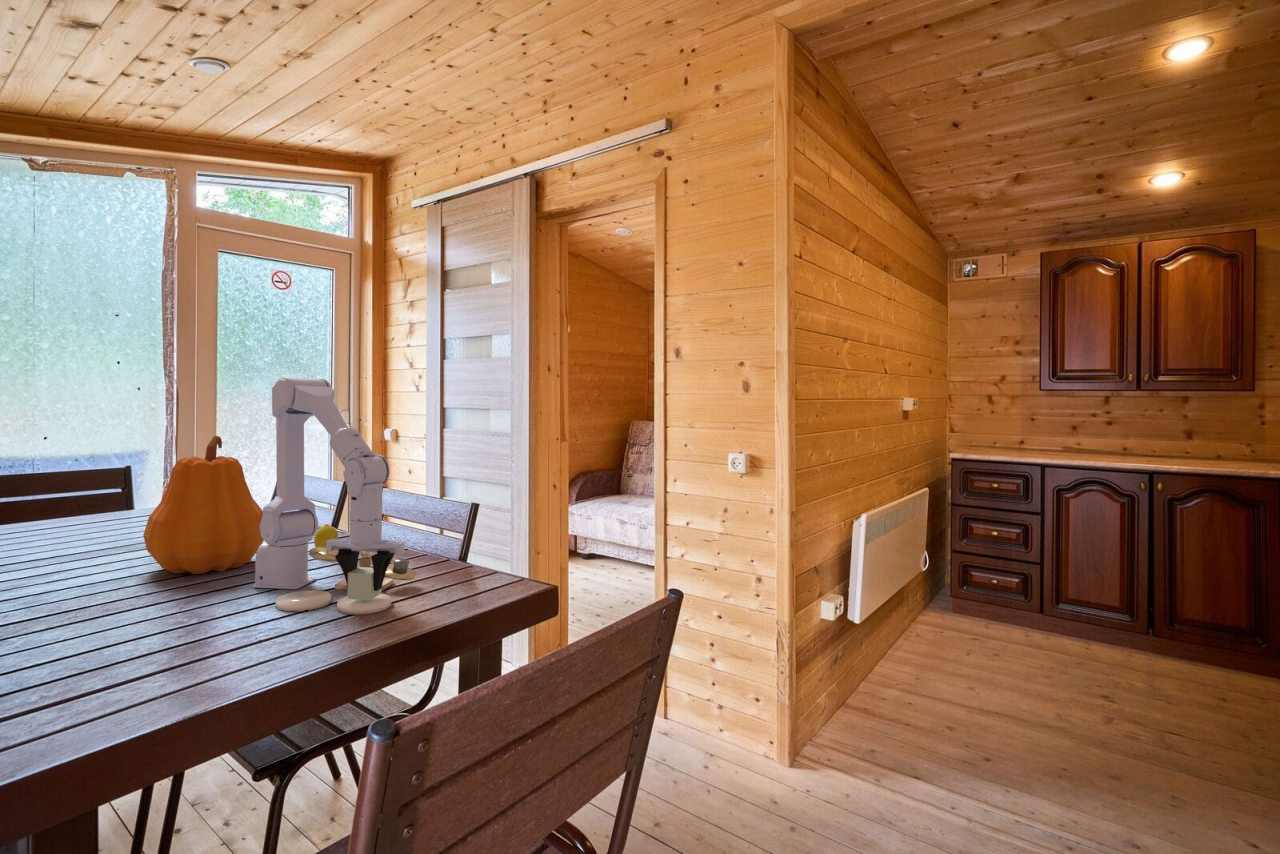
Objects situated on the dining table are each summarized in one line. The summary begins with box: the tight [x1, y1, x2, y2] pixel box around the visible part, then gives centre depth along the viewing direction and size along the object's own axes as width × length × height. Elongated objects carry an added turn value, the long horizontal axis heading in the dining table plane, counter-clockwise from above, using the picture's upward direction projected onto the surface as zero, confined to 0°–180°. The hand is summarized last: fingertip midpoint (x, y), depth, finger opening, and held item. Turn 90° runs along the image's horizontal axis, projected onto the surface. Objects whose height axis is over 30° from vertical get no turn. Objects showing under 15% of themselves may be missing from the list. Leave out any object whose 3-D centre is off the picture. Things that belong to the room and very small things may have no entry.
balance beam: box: [308, 547, 417, 581], centre depth 141 cm, size 23×7×3 cm, turn 88°
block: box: [347, 566, 382, 600], centre depth 128 cm, size 4×4×5 cm
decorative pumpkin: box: [143, 435, 265, 575], centre depth 151 cm, size 24×24×30 cm
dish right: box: [336, 593, 392, 616], centre depth 128 cm, size 10×10×1 cm
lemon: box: [313, 523, 340, 548], centre depth 166 cm, size 6×6×8 cm
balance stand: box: [334, 556, 395, 592], centre depth 141 cm, size 10×6×6 cm, turn 88°
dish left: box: [275, 589, 332, 612], centre depth 128 cm, size 10×10×1 cm
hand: (364, 588), depth 128 cm, fingers closed on block, 4 cm apart
